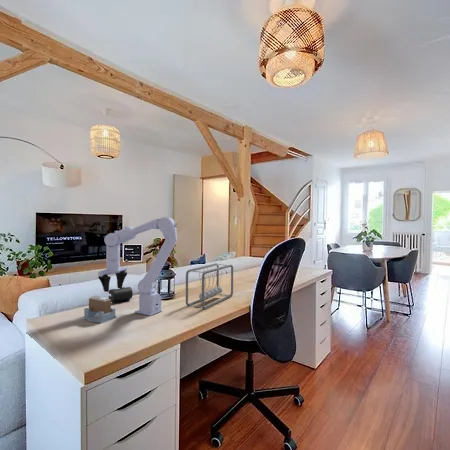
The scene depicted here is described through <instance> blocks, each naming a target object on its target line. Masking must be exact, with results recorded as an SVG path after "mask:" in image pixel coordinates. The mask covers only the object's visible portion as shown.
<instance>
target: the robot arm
mask: <svg viewBox="0 0 450 450" xmlns="http://www.w3.org/2000/svg"><path fill="white" fill-rule="evenodd" d="M177 228H178V226H177V224H176V221H175V220H174V218H172V217H167V216H164V217H163V216H162V217H160V218H156V219H151V220H150V221H148V222H145V223H143V224H141V225H138V226H136V227H133V226H124V227H123V229H119V230H114V232H110V233H108V234H106V235H105V236H104V238H103V239H104V243H105V245H106V246H105V247H106V249H105V250H106V251H105V252H106V260H105V261H106V262H105V263H106V264H105V265H106V266H105V267H106V268H105V269H104V270H100V271H98V272H97V276H98V279H99V281H100V283H101V285H102V288H103V292H105V293H108V292H109V290H110V282H111V278H112V277H111V276H109V275H115V277H116V285H117V286H116V287H117V289H120V288H123V285H124V281H125V279H126V278H127V275H128V267H125V266H123V267H121V265H120V264H121V249H120V248H121V244H124V243H127V242H128V241H130V240H133V239H135V238H136V237H137V235H139V234H142V233H144V232H147V231H150V230H153V229H154V230H160V232H161V233H162V235H163V237H164V239H165V240H164V242H163V244H162V245H161V247H160V249H159V251H158V252H157V255H156V256H155V258H154V260H153V262H152V263H151V266H150V268H149V269H148V270H147V272H146V274H145V275H144V277H143V278H142V279H141V280H139V282H138V284H137V289H138V292H139V293H138V295H139V296H138V299H139V300H138V303H139V305H138V306H139V307H138V309H136V310H135V311H134V313H137V314H141V315H147V316H153V315H155V314H158V313H160V312H162V311H163V309H162V296H161V294H159V293H158V292H157V291H156V290H157V289H156V286H157V285H158V278H159V276H160V273H161V271H162V269H163V268H164V265H165V264H166V261H168V258H169V256H170V255H171V253H172V250H174V247H175V245H176V243H177V241H178V232H177V231H178V230H177Z"/></svg>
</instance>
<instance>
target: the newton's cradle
mask: <svg viewBox="0 0 450 450" xmlns="http://www.w3.org/2000/svg"><path fill="white" fill-rule="evenodd" d="M228 268H231V269H230V294H224V293H223V294H222V292H223V287H222V286H221V285H220V282H221V279H222V278H220V277H219V276H220V275H221V276H222V274H223V272H221V273H219V272H220V271H222V270H224V269H228ZM191 272H193V273H199V276H201V278H199V281H200V283H201V285H200V288H201V293H199V295H198V298H199V299H197V300H194V301H192V302H190V303H189V274H190V273H191ZM201 273H202V275H200V274H201ZM209 273H210V274H209ZM215 274H216V283H214V280H215V277H214V275H215ZM219 274H220V275H219ZM207 276H208V286H207V283H206V281H207V280H206V277H207ZM210 276H212V280H213V281H212V285H211V287H210V284H211V282H210V281H211V278H210ZM219 278H220V279H219ZM214 284H216V286H214ZM206 286H207V288H210V289H205V288H206ZM233 294H234V266H233V264H224V265H223V264H219V263H216V262H215V263H211V264H207V265H204V266H198V267H195V268H191V269H188V270H187V271H186V272H185V305H186V306H187V307H191V306H192V307H197V308H201V309H203V310H206V309H208V308H210V307H213V306H214V305H217V304H219V303H221V302H223V301H225V300H227V299H230V298H232V296H233ZM217 295H220V296H225V297H222V298H221V299H219V300H216V301H214V302H211V303H209V304H207V305H205V300H207V299H210V298H212V297H214V296H217ZM200 302H201V306H200V305H199V306H198V305H196V304H197V303H200Z"/></svg>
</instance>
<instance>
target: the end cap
mask: <svg viewBox="0 0 450 450" xmlns="http://www.w3.org/2000/svg"><path fill="white" fill-rule="evenodd" d="M107 293H108V294H109V295H108V298H109V300H111V302H112V303H111V304H116V302H117V303H120V302H121V301H122V302H126V301H130V300H131V299H133V298H132V297H133V294H134V292H133V289H132V287H131V286H122V288H117V289H116V288H111V289H109V291H108V292H107ZM110 295H111V296H110ZM125 300H126V301H125Z"/></svg>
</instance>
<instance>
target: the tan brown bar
mask: <svg viewBox="0 0 450 450" xmlns="http://www.w3.org/2000/svg"><path fill="white" fill-rule="evenodd" d="M111 304H112V303H111V300H110V299H109V297H105V296H103V297H101V296H99V295H93V296H92V295H91V296H90V297H89V298H88V308H89V309H90V311H94V312H99V311H102V312H104V314H107V313H110V312H111V308H112V305H111Z"/></svg>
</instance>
